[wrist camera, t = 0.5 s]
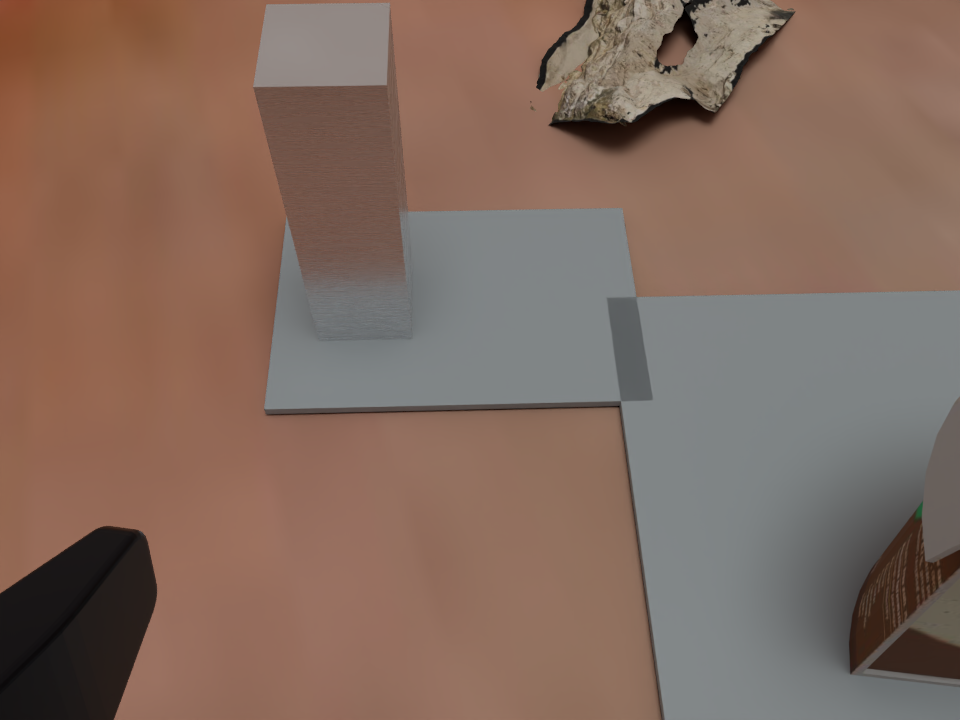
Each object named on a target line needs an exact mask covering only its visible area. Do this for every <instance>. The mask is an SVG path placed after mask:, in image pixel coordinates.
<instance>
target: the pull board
mask: <svg viewBox="0 0 960 720" xmlns="http://www.w3.org/2000/svg"><path fill="white" fill-rule="evenodd" d="M253 88H254V92H255V96H256V100H257V104H258V107H259V111H260V115H261V119H262V123H263V127H264V131H265V135H266V138H267V142H268V146H269V150H270V154H271V158H272V162H273V165H274V169H275V173H276V177H277V181H278V185H279V189H280V193H281V196H282V200H283V204H284V208H285V212H286V216H287V218H286V227H285V235H284V244H283V252H282V261H281V270H280V278H279V287H278V296H277V304H276V313H275V321H274V330H273V339H272V347H271V356H270V365H269V373H268V382H267V390H266V399H265V408H264V410H265V412H266V414H296V413H338V412H381V411H424V410H467V409H510V408H552V407H595V406H620V413H621V420H622V428H623V435H624V442H625V450H626V457H627V464H628V472H629V479H630V486H631V494H632V501H633V508H634V516H635V523H636V530H637V538H638V545H639V552H640V560H641V567H642V574H643V582H644V589H645V596H646V604H647V611H648V618H649V626H650V633H651V640H652V648H653V655H654V662H655V670H656V677H657V684H658V692H659V699H660V706H661V714H662V720H960V687H953V686H944V685H936V684H927V683H919V682H910V681H902V680H893V679H884V678H876V677H867V676H859V675H850V656H849V637H850V629H851V621H852V614H853V611H854V607H855V604H856V601H857V598H858V594H859V591H860V589H861V587H862V585H863V583H864V581H865V579H866V577H867V575H868V574H869V572H870V570H871V568H872V567H873V566H874V564H875V563H876V562H877V560H878V559H879V558H880V556H881V555H882V554H883V553H884V551H885V550H886V549H887V547H888V546H889V545H890V543H891V542H892V541H893V539H894V538H895V537H896V536H897V534H898V533H899V532H900V530H901V529H902V528H903V526H904V525H905V524H906V522H907V521H908V520H909V519H910V517H911V516H912V515H913V513H914V512H915V511H916V509H917V508H918V507H919V505H920V504H921V503H922V501H923V498H924V486H925V475H926V470H927V467H928V464H929V460H930V457H931V453H932V450H933V447H934V443H935V440H936V436H937V434H938V432H939V430H940V428H941V426H942V425H943V423H944V421H945V419H946V417H947V416H948V414H949V412H950V410H951V408H952V406H953V405H954V403H955V401H956V400H957V399H958V398H959V397H960V291H916V292H866V293H817V294H768V295H718V296H669V297H636V292H635V285H634V279H633V273H632V267H631V261H630V254H629V248H628V242H627V236H626V229H625V223H624V217H623V211H622V208H599V209H542V210H486V211H429V212H408V206H407V195H406V183H405V172H404V160H403V149H402V137H401V126H400V114H399V103H398V91H397V80H396V68H395V56H394V45H393V33H392V22H391V10H390V3H346V4H266V11H265V17H264V23H263V29H262V36H261V42H260V48H259V54H258V61H257V67H256V73H255V79H254V85H253Z"/></svg>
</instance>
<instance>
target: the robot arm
mask: <svg viewBox="0 0 960 720" xmlns="http://www.w3.org/2000/svg"><path fill="white" fill-rule="evenodd" d="M156 597H157V584H156V579H155V574H154V569H153V565H152V560H151V555H150V550H149V546H148V541H147V539H146V536H145V535H144V534H143V533H142V532H141V531H139V530H135V529H128V528H120V527H113V526H104V527H100V528H98V529H96V530H94V531H92V532H91V533H89V534H88V535H86V536H85V537H83V538H82V539H80V540H79V541H77V542H76V543H74V544H73V545H71V546H70V547H68V548H67V549H65V550H64V551H63V552H61V553H60V554H58V555H57V556H55V557H54V558H52V559H51V560H49V561H48V562H46V563H45V564H43V565H42V566H40V567H39V568H37V569H36V570H34V571H33V572H31V573H30V574H28V575H27V576H25V577H24V578H22V579H21V580H19V581H18V582H16V583H15V584H14V585H12V586H11V587H9V588H8V589H6V590H5V591H3V592H2V593H0V720H114V718H115V715H116V712H117V710H118V707H119V704H120V701H121V699H122V696H123V693H124V690H125V688H126V685H127V682H128V679H129V677H130V674H131V671H132V668H133V666H134V663H135V660H136V657H137V655H138V652H139V649H140V646H141V644H142V641H143V638H144V635H145V633H146V630H147V627H148V624H149V622H150V619H151V616H152V613H153V611H154V607H155V603H156Z"/></svg>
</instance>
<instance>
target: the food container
mask: <svg viewBox="0 0 960 720" xmlns="http://www.w3.org/2000/svg"><path fill="white" fill-rule="evenodd" d="M849 656H850V675H859V676H867V677H876V678H884V679H893V680H902V681H910V682H919V683H927V684H936V685H944V686H953V687H960V397H959V398H958V399H957V400H956V401H955V403H954V405H953V406H952V408H951V410H950V412H949V414H948V416H947V417H946V419H945V421H944V423H943V425H942V426H941V428H940V430H939V432H938V434H937V436H936V440H935V443H934V447H933V450H932V453H931V457H930V460H929V464H928V467H927V470H926V475H925V486H924V498H923V501H922V503H921V504H920V505H919V507H918V508H917V509H916V511H915V512H914V513H913V515H912V516H911V517H910V519H909V520H908V521H907V522H906V524H905V525H904V526H903V528H902V529H901V530H900V532H899V533H898V534H897V536H896V537H895V538H894V539H893V541H892V542H891V543H890V545H889V546H888V547H887V549H886V550H885V551H884V553H883V554H882V555H881V556H880V558H879V559H878V560H877V562H876V563H875V564H874V566H873V567H872V568H871V570H870V572H869V574H868V575H867V577H866V579H865V581H864V583H863V585H862V587H861V589H860V591H859V594H858V598H857V601H856V604H855V607H854V611H853V614H852V621H851V629H850V637H849Z"/></svg>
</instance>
